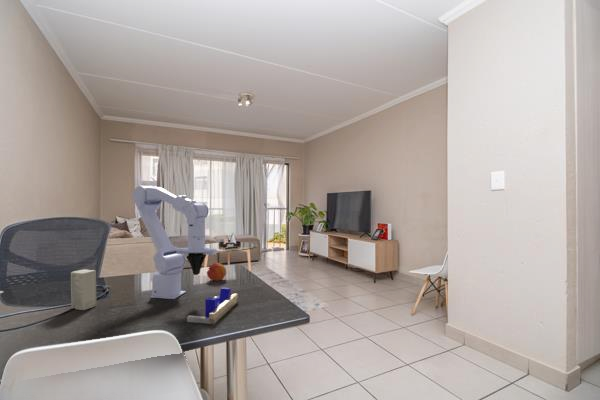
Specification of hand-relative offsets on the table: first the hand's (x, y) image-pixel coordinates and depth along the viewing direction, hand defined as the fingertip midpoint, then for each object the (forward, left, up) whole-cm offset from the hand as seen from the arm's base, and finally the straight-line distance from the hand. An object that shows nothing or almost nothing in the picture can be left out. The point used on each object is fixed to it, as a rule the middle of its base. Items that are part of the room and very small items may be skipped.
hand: (196, 274), depth 100 cm
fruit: (-4, +25, -10) cm, 27 cm away
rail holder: (+11, -8, -9) cm, 16 cm away
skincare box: (-33, -13, -10) cm, 37 cm away
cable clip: (+11, -7, -10) cm, 17 cm away
